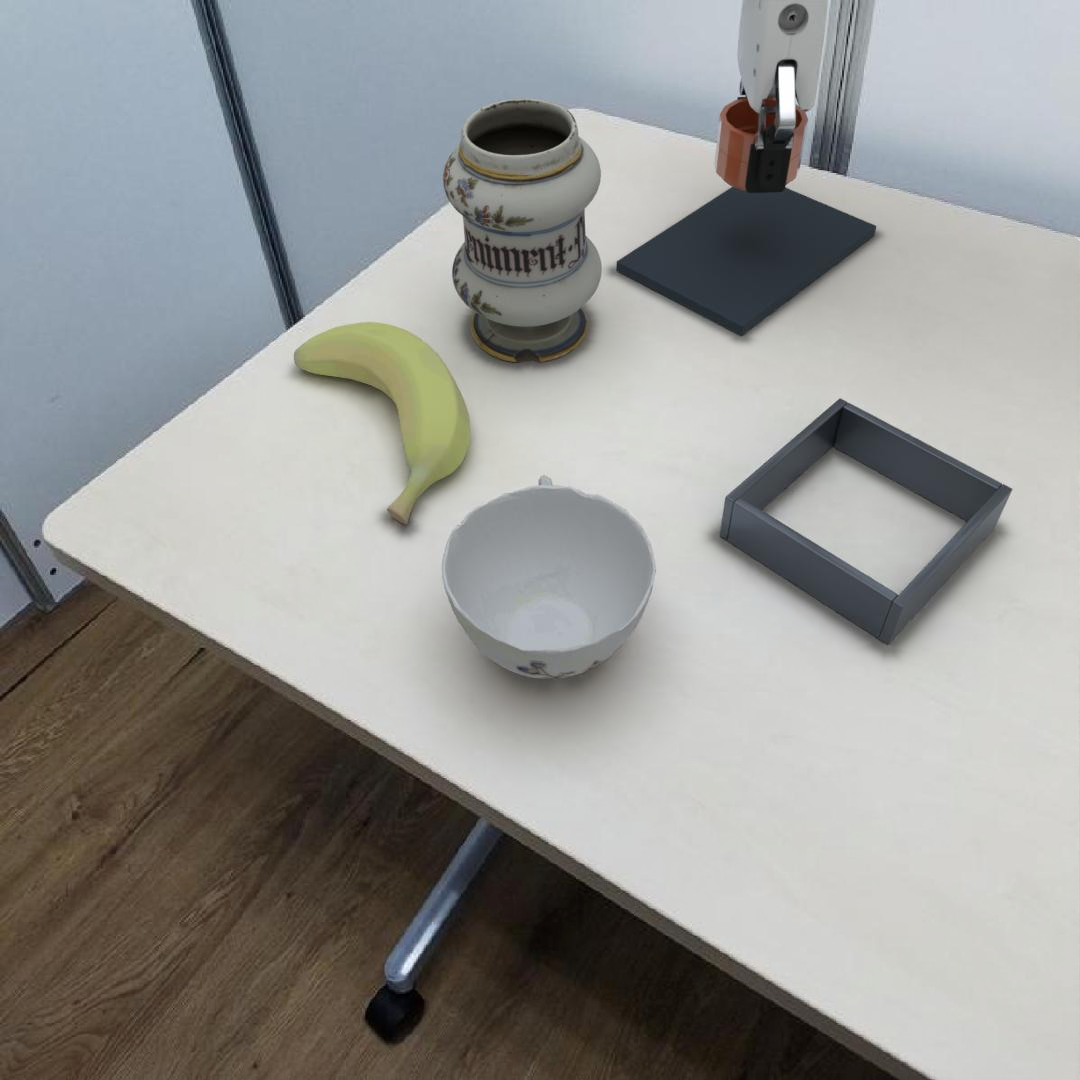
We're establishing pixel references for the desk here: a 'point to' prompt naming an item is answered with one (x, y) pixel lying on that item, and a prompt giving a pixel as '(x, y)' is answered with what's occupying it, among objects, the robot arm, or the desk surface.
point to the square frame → (896, 460)
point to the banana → (400, 395)
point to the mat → (745, 254)
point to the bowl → (750, 141)
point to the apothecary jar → (524, 228)
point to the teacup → (548, 579)
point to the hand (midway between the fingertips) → (757, 164)
